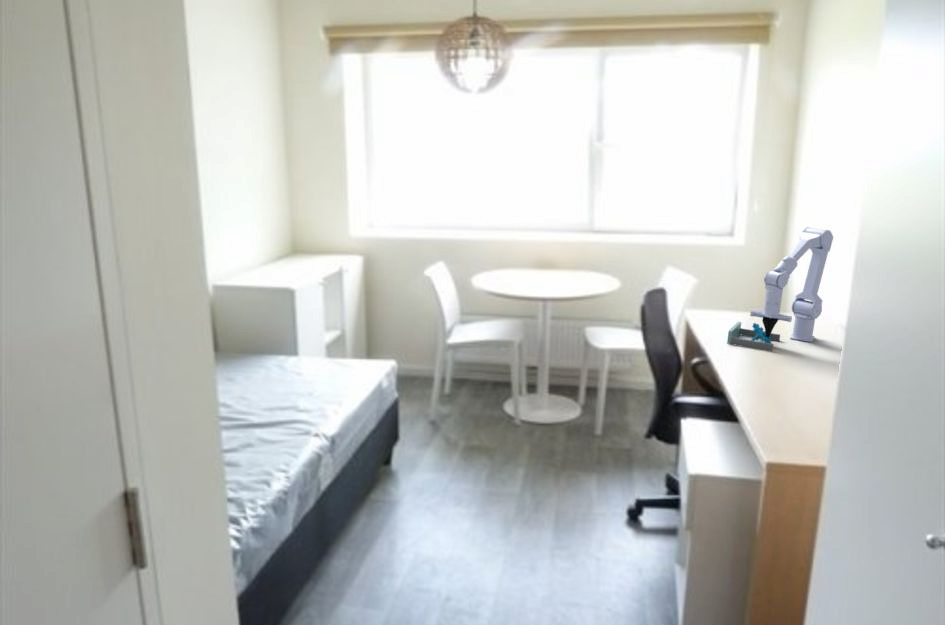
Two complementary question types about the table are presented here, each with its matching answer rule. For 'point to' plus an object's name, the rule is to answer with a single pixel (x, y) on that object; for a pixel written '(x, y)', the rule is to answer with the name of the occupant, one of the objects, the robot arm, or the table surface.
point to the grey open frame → (749, 343)
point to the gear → (760, 334)
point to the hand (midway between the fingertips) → (767, 336)
